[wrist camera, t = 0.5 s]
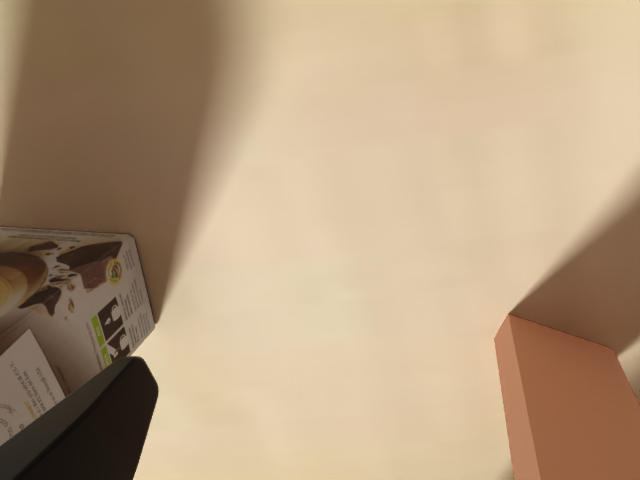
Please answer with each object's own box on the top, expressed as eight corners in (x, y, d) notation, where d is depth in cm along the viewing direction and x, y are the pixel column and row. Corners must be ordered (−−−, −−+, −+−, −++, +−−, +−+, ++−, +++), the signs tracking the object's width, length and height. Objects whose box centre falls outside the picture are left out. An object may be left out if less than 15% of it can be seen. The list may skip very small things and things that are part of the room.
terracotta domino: (595, 373, 24) (669, 563, 16) (494, 338, 24) (518, 508, 16) (613, 349, 23) (700, 536, 15) (508, 313, 23) (540, 479, 15)
